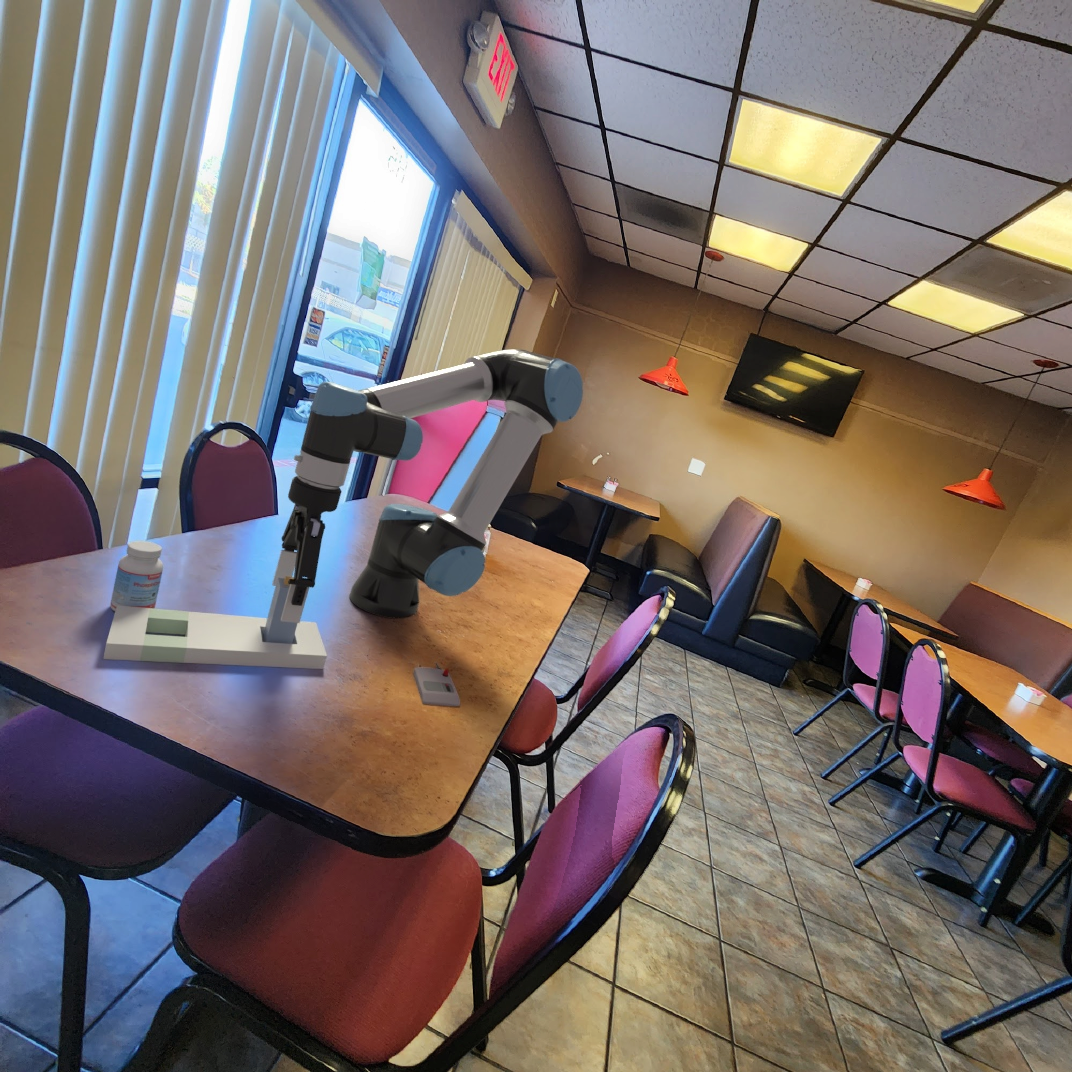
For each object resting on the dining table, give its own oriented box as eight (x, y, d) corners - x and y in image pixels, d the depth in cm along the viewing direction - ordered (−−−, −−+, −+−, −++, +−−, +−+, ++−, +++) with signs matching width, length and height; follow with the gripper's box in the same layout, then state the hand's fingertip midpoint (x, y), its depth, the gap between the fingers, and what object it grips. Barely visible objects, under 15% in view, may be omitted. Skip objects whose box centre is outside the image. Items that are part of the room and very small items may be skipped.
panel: (312, 634, 107) (315, 622, 107) (323, 669, 97) (327, 655, 97) (114, 619, 91) (117, 605, 91) (103, 659, 81) (106, 643, 81)
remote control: (423, 712, 96) (428, 697, 95) (408, 664, 110) (412, 650, 109) (461, 715, 99) (466, 700, 98) (441, 668, 113) (446, 654, 112)
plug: (286, 643, 101) (304, 575, 99) (288, 655, 98) (307, 585, 95) (261, 641, 99) (279, 572, 96) (263, 653, 96) (281, 581, 93)
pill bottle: (132, 621, 92) (145, 556, 90) (100, 607, 93) (112, 542, 91) (163, 610, 98) (176, 549, 96) (132, 597, 99) (144, 536, 97)
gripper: (284, 457, 101) (255, 570, 105) (304, 498, 80) (267, 636, 84) (328, 468, 105) (298, 576, 109) (358, 510, 84) (320, 640, 88)
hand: (285, 602), depth 97 cm, fingers open, 13 cm apart
